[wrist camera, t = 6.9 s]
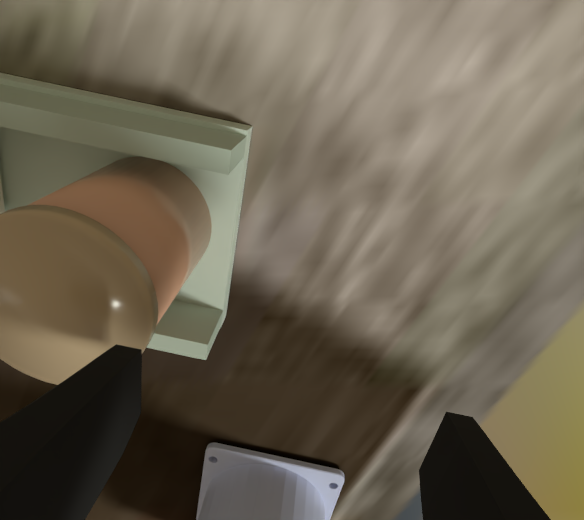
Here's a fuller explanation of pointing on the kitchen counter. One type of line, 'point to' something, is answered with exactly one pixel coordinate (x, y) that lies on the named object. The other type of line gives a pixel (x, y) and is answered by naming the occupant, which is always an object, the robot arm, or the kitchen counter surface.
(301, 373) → the kitchen counter surface
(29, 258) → the jar
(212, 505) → the robot arm
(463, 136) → the kitchen counter surface
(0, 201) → the pusher
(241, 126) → the pale green shallow tray
